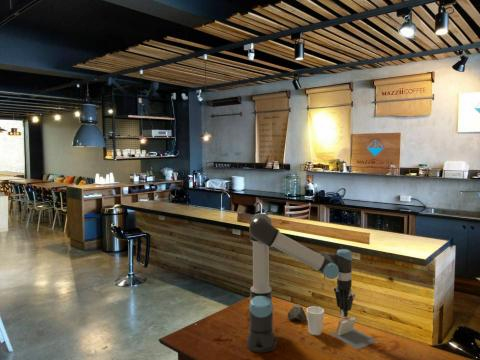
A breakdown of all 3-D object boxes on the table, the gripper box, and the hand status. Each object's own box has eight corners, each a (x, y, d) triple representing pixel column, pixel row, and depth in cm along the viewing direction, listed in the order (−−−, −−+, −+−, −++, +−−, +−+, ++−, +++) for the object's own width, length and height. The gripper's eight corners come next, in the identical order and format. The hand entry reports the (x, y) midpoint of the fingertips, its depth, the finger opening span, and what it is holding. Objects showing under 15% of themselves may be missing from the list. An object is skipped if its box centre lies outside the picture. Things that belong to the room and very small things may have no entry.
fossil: (283, 315, 221) (289, 299, 223) (294, 320, 225) (300, 304, 226) (293, 322, 211) (299, 306, 213) (305, 327, 215) (311, 310, 217)
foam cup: (324, 338, 195) (324, 314, 194) (306, 337, 197) (306, 313, 196) (323, 329, 205) (323, 307, 204) (306, 328, 207) (306, 305, 205)
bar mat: (357, 350, 183) (357, 349, 183) (330, 335, 199) (330, 334, 199) (377, 342, 191) (377, 340, 191) (350, 327, 207) (350, 326, 207)
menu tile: (339, 335, 197) (342, 323, 194) (335, 332, 199) (339, 320, 196) (352, 330, 202) (355, 318, 199) (349, 327, 204) (352, 315, 201)
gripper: (358, 280, 195) (358, 324, 197) (339, 274, 206) (339, 315, 208) (348, 283, 191) (348, 328, 193) (330, 276, 202) (329, 318, 204)
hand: (343, 321), depth 200 cm, fingers closed
